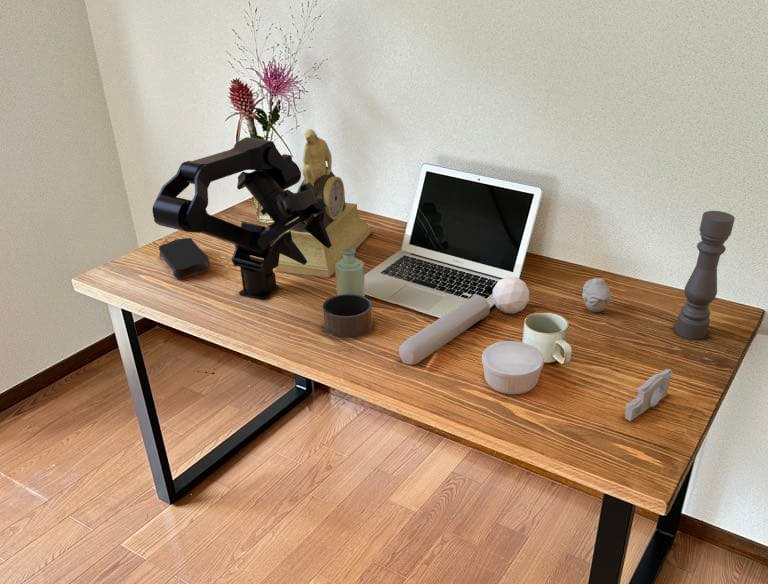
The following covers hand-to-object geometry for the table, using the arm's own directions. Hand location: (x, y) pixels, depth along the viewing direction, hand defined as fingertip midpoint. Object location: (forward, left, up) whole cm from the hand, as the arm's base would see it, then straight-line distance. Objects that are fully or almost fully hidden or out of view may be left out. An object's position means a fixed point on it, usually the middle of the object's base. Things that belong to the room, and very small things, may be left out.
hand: (318, 255), depth 155 cm
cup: (+12, -10, -10) cm, 18 cm away
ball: (+41, +9, -10) cm, 43 cm away
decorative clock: (-9, +22, -10) cm, 25 cm away
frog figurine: (+58, +16, -10) cm, 60 cm away
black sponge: (-36, +2, -10) cm, 38 cm away
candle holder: (+78, +14, -10) cm, 79 cm away
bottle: (+8, 0, -10) cm, 12 cm away
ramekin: (+48, -17, -10) cm, 52 cm away
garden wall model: (+72, -17, -10) cm, 74 cm away
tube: (+32, -8, -10) cm, 34 cm away
